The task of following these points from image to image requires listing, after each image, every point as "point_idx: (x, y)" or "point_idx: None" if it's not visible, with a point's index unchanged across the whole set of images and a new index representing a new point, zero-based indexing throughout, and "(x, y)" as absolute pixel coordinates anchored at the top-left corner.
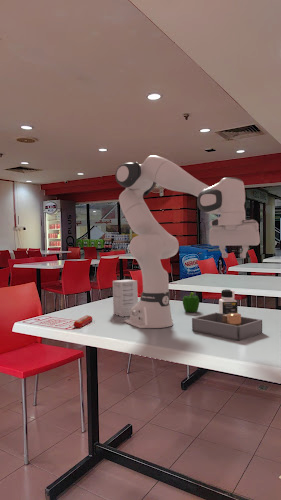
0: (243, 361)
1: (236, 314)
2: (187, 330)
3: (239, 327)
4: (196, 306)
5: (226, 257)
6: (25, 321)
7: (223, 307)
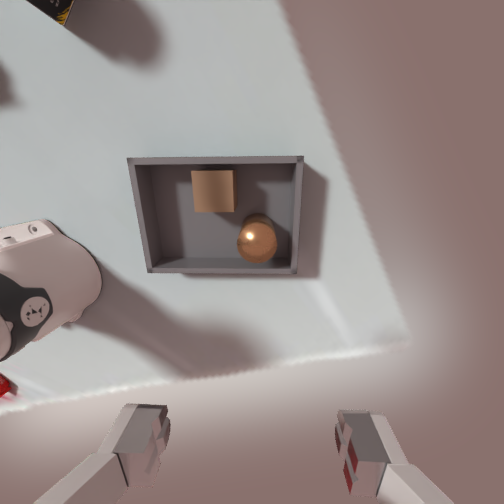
0: (358, 349)
1: (261, 239)
2: None
3: (296, 270)
4: None
5: (165, 416)
6: None
7: (34, 1)
